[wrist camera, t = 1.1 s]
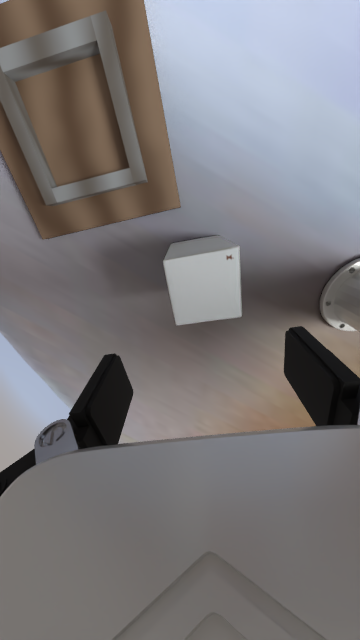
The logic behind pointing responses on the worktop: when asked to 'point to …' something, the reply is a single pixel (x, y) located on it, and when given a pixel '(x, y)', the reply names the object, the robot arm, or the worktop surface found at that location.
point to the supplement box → (204, 280)
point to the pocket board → (83, 113)
